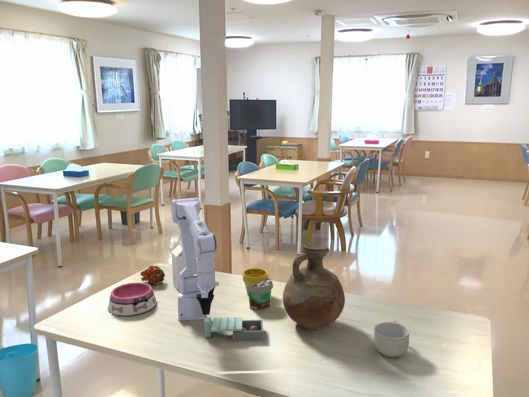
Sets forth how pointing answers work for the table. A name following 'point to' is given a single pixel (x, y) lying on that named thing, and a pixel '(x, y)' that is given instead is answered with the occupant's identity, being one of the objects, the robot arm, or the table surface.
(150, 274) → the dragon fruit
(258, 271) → the plant pot
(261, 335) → the tub
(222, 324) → the teal ridged block
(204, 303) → the robot arm
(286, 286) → the jug
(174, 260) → the milk carton
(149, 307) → the dog bowl
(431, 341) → the table surface
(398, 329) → the teacup
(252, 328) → the walnut ball
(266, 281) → the food container
